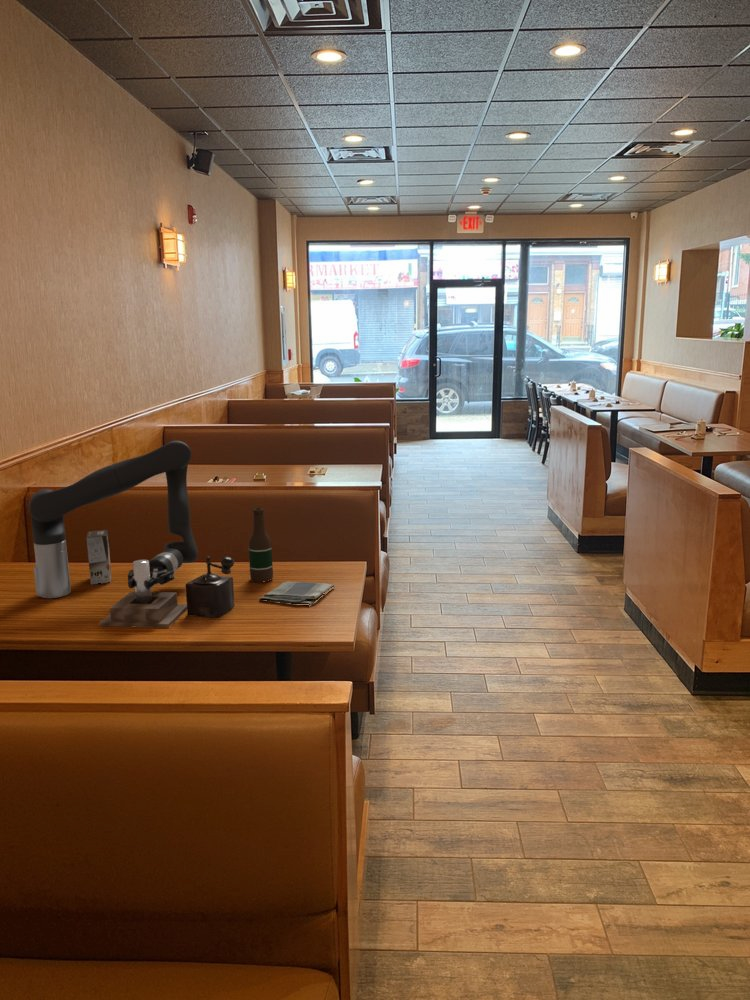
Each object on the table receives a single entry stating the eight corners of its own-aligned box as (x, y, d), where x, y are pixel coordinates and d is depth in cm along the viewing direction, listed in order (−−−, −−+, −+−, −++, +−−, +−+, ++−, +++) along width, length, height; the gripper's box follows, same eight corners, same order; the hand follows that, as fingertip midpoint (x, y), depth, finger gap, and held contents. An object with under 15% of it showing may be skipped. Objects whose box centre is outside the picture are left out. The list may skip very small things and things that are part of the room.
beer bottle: (245, 579, 251) (241, 508, 246) (266, 574, 256) (263, 505, 251) (256, 584, 245) (253, 512, 240) (277, 580, 250) (274, 508, 245)
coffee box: (111, 582, 250) (106, 535, 247) (90, 585, 248) (85, 537, 245) (111, 575, 259) (107, 529, 255) (91, 577, 257) (87, 531, 253)
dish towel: (284, 585, 246) (284, 575, 245) (335, 590, 240) (335, 580, 239) (257, 603, 229) (256, 593, 228) (311, 609, 223) (311, 599, 222)
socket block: (99, 625, 211) (97, 608, 210) (124, 606, 227) (122, 590, 226) (168, 627, 209) (167, 610, 208) (188, 607, 225) (187, 591, 224)
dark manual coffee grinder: (184, 616, 218) (180, 555, 214) (204, 603, 228) (200, 545, 225) (233, 621, 213) (229, 559, 210) (251, 608, 224) (248, 549, 220)
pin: (134, 611, 216) (130, 563, 213) (140, 605, 220) (136, 559, 217) (149, 611, 215) (145, 564, 212) (155, 606, 220) (151, 559, 217)
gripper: (137, 555, 230) (113, 572, 213) (183, 555, 228) (162, 572, 212) (139, 578, 231) (115, 597, 215) (185, 579, 230) (164, 598, 213)
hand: (138, 585), depth 213 cm, fingers closed on pin, 4 cm apart
